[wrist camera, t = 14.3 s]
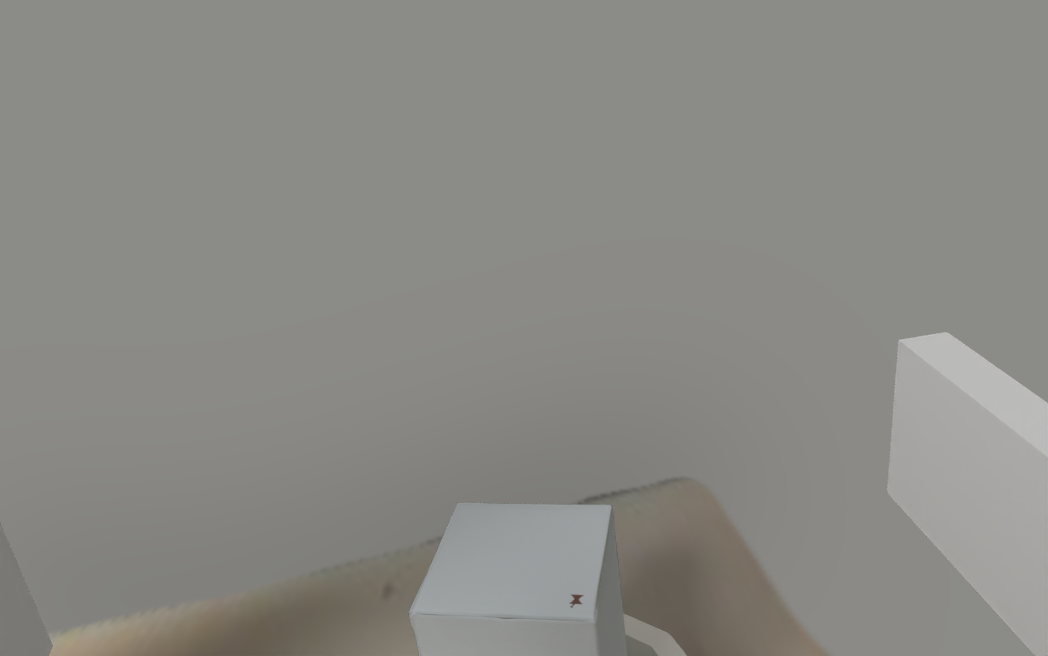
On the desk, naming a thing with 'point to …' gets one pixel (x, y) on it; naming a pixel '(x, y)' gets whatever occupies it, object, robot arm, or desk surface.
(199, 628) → the desk surface
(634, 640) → the bowl
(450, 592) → the supplement box
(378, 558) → the desk surface
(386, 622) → the desk surface
